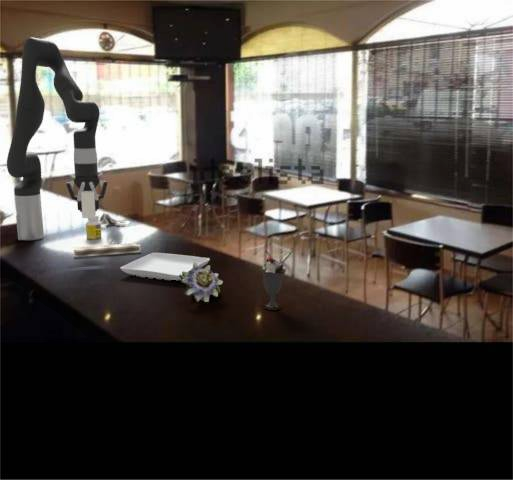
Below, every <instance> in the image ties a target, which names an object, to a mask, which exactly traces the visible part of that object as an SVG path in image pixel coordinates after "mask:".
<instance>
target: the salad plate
mask: <svg viewBox="0 0 513 480" xmlns="http://www.w3.org/2000/svg"><path fill="white" fill-rule="evenodd" d="M209 261H211V259H210V257H201V256H196V255H195V256H193V255H184V254H175V253H164V252H152V253H149V254H147V255H144V256H142V257H139V258H138V259H137V258H136V260H133V261H131V262H129V263H127V264H124V265H122V266H120V270H121V271H122V272H124V273H126V274H128V275H131V276H135V275H136V276H135V277H138V276H139V277H138V278H145V277H148V278H147V279H153V278H156V279H155V280H162V279H164V281H171V280H176V281H181V280H182V279H181V278H180V277H179V275H180V274H181V276H182V272H183V271H184V272H188V271H191V269H193V264H194V262H195V263H197V264H198V266H199V267H200V266H202V268H204V266H206V265H207V264H208V263H209ZM187 275H188V273H187V274H185V276H186V277H187ZM183 278H184V276H183Z"/></svg>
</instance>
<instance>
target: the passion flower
mask: <svg viewBox="0 0 513 480" xmlns="http://www.w3.org/2000/svg"><path fill="white" fill-rule="evenodd" d="M187 273H188V275H187V276H185V274H187ZM183 276H184V278H183ZM179 277H180V278H181V280H180V282H181V283H183V284H185V285H186V286H187V288H186V290H185V291H184V295H185V297H187V296H192V295H193V299H194V300H195V301H196V302H197V303H199V302H200V301H202V302H203V301H204V302H208V303H209V301H210V296H211V295H212V296H213V297H215V298H217V297H219V295H220V293H221V289H220V286H221V285H223V282H224V281H223V280H221V279H220V278H218V277H219V273H216V272H215V273H214V272H213V270H211V265H206V266H205V267H202V266H200V267H199V266H198V264H197V263H195V262H194V264H193V269H191V271H188V272H184V271H183V272H182V276H181V274H180V275H179ZM191 294H192V295H191ZM218 294H219V295H218ZM204 302H203V303H204Z"/></svg>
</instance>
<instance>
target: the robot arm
mask: <svg viewBox="0 0 513 480" xmlns="http://www.w3.org/2000/svg"><path fill="white" fill-rule="evenodd" d="M21 56H22V57H21V75H20V77H21V78H20V84H19V93H18V99H17V105H16V110H15V111H16V112H15V120H14V121H15V122H14V127H13V132H12V139H11V142H10V146H9V148H8V149H9V150H8V153H7V157H6V170H7V171H8V174H9V175H10V176H11V177H13V178H22V180H21V182H20V183H19V184H18V185H16V186H14V189H13V192H14V201H15V213H16V216H15V219H16V230H17V239H18V241H35V240H36V241H37V240H41V239H44V237H45V231H44V220H43V219H44V218H43V209H42V197H41V188H42V184H43V183H42V163H41V160H40V157H39V156H38V154H37V153H35V152H33V151H28V149H29V147H28V146H29V144H30V142H31V140H32V139H33V137H34V136H35V135H36V133H37V132H38V130H39V129H40V127H41V126H42V124H43V120H44V115H45V107H46V103H45V99H44V97H43V94H42V92H41V90H40V88H39V86H38V83H37V67H42V68H49V69H50V70H52V71H53V73H54V77H53V86H54V90H55V91H56V93H57V94H58V96H59V97H60V99H61V101H62V103H63V106H64V110H65V114H66V117H67V118H68V120H69V121H70V122H72V123H77V124H78V123H79V124H80V123H81V124H83V123H84V126H83V128H81V129H77V130H75V131H73V163H74V164H73V165H74V166H73V167H74V179H73V180H72V181H67V182H66V183H65V185H66V188H67V190H68V192H69V195H70V198H71V199H72V200H74V201H76V202H77V210H78V211H79V212H81V213H82V202H81V191H94V194H95V211H96V212H97V211H98V210H99V209H100V203H99V201H100V200H102V199H104V197H105V194H106V192H107V191H106V190H107V186H108V182H107V181H106V180H101V179H100V178H99V171H98V153H97V149H96V147H97V146H96V145H97V144H96V135H97V133H96V132H97V129H98V123H99V120H100V107H99V106H98V103H96V102H94V101H93V100H83V99H84V95H83V91H82V90H81V89H80V87H79V86H78V84H77V83H76V81H75V80H74V79H73V77H72V75H71V73H70V72H69V68H68V67H67V64H66V62H65V60H64V57H63V55H62V53H61V51H60V48H59V47H58V45H57V44H56V43H55V42H54V41H51V40H47V39H42V38H37V37H32V36H31V37H27V39H25V40H24V44H23V48H22V55H21ZM99 184H100V188H101V189H100V194H97V191H96V188H97V186H98V185H99ZM74 185H75V186H76V187H77V188H78V193H77V195H75V193H74V191H73V190H74V189H73V188H74Z"/></svg>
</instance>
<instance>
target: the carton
mask: <svg viewBox="0 0 513 480" xmlns="http://www.w3.org/2000/svg"><path fill="white" fill-rule="evenodd" d="M81 202H82V212H81V217H82V219H88V218H95V215H97V214H96V212H97V211H95V194H94V191H81Z"/></svg>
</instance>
